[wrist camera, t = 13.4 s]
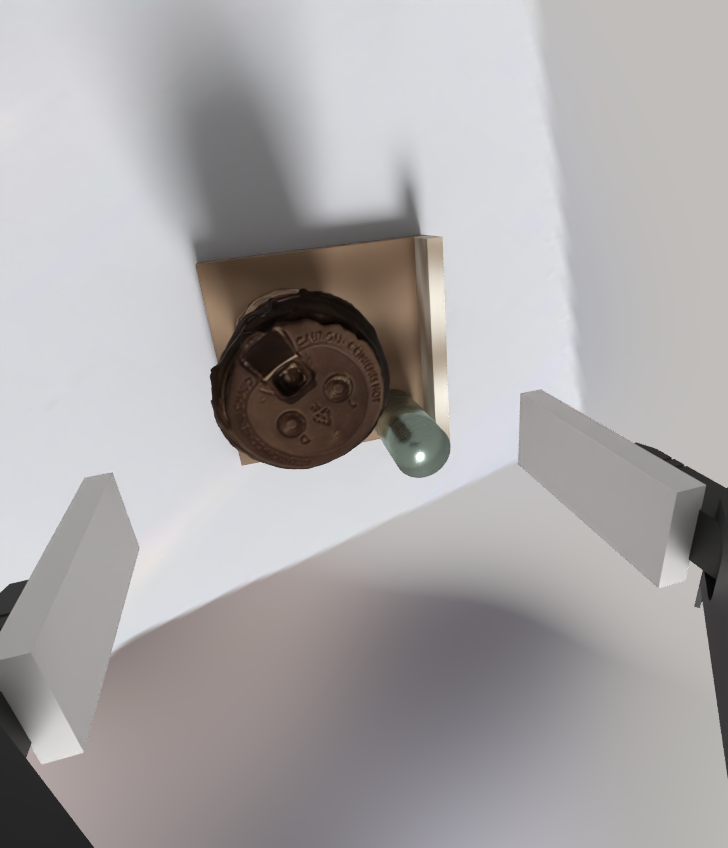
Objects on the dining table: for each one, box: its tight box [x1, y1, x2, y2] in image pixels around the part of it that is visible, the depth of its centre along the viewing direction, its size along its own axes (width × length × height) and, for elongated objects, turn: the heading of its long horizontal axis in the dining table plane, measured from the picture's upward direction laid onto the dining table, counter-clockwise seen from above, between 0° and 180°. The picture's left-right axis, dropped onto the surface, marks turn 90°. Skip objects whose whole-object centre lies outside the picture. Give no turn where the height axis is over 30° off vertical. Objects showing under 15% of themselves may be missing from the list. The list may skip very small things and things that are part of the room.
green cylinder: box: [374, 389, 450, 478], centre depth 34 cm, size 4×4×7 cm
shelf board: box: [196, 235, 450, 465], centre depth 34 cm, size 14×15×4 cm
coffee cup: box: [210, 288, 390, 469], centre depth 27 cm, size 9×8×13 cm
